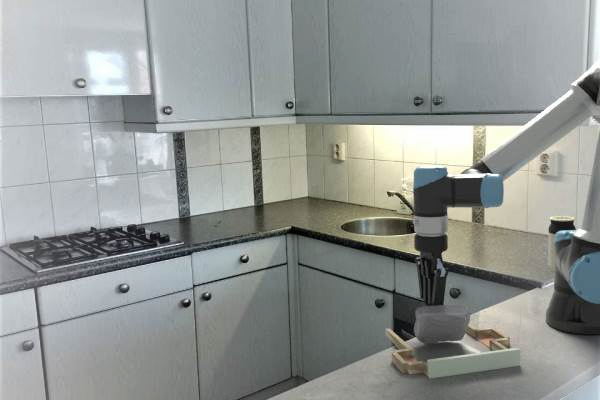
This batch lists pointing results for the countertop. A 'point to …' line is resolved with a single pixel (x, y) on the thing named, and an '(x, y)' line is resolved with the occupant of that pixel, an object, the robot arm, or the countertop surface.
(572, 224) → the travel mug
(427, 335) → the stone block
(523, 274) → the countertop surface
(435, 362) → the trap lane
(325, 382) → the countertop surface
